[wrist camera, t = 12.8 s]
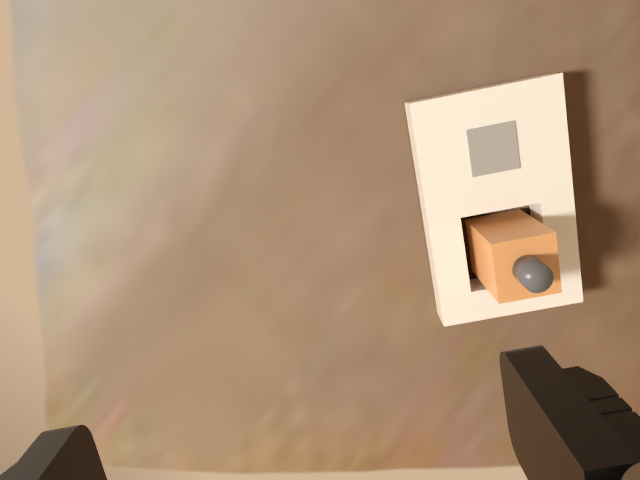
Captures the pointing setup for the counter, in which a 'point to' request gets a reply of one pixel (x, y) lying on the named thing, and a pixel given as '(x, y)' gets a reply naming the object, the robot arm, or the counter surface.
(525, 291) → the block
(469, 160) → the power strip
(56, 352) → the counter surface
